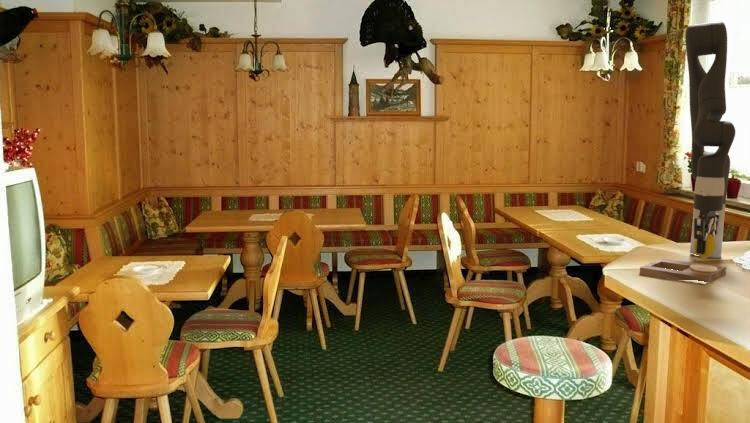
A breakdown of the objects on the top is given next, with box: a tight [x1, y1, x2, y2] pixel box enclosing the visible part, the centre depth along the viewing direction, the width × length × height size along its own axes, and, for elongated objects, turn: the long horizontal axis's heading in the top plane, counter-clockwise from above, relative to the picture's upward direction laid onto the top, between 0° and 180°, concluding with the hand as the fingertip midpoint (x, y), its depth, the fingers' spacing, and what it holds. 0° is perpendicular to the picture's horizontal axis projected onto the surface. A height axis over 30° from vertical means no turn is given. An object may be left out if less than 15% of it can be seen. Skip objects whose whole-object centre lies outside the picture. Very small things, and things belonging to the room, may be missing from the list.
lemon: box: [694, 234, 716, 260], centre depth 210 cm, size 6×6×8 cm
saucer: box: [690, 263, 717, 272], centre depth 211 cm, size 7×7×1 cm
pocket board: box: [639, 257, 727, 283], centre depth 214 cm, size 18×18×2 cm
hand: (704, 251), depth 211 cm, fingers closed on lemon, 5 cm apart
